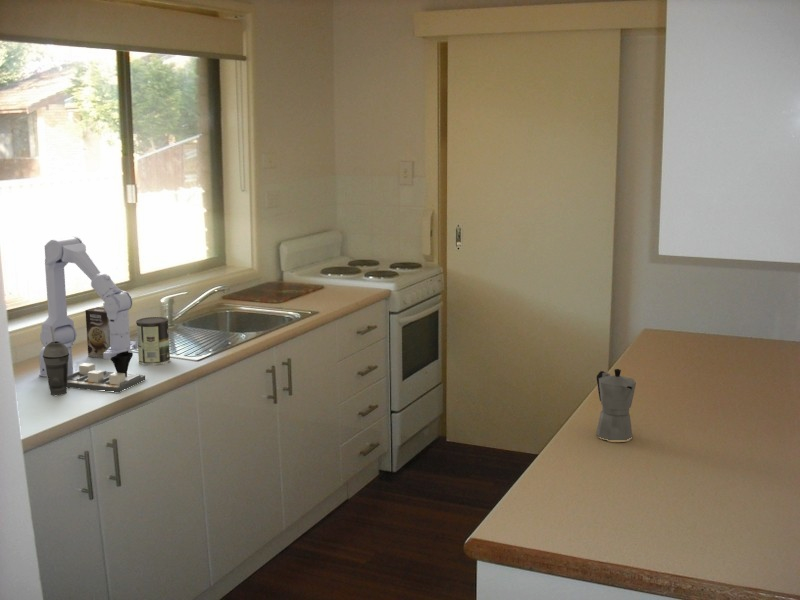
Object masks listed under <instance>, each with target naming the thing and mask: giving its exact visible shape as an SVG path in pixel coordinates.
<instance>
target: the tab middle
mask: <svg viewBox="0 0 800 600" xmlns="http://www.w3.org/2000/svg"><path fill="white" fill-rule="evenodd" d="M97 370H98V369H95V370H93V371H90V372H88V382H96V383H98V381H99V380H102V379H104V371H105V370H99V371H97Z"/></svg>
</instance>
